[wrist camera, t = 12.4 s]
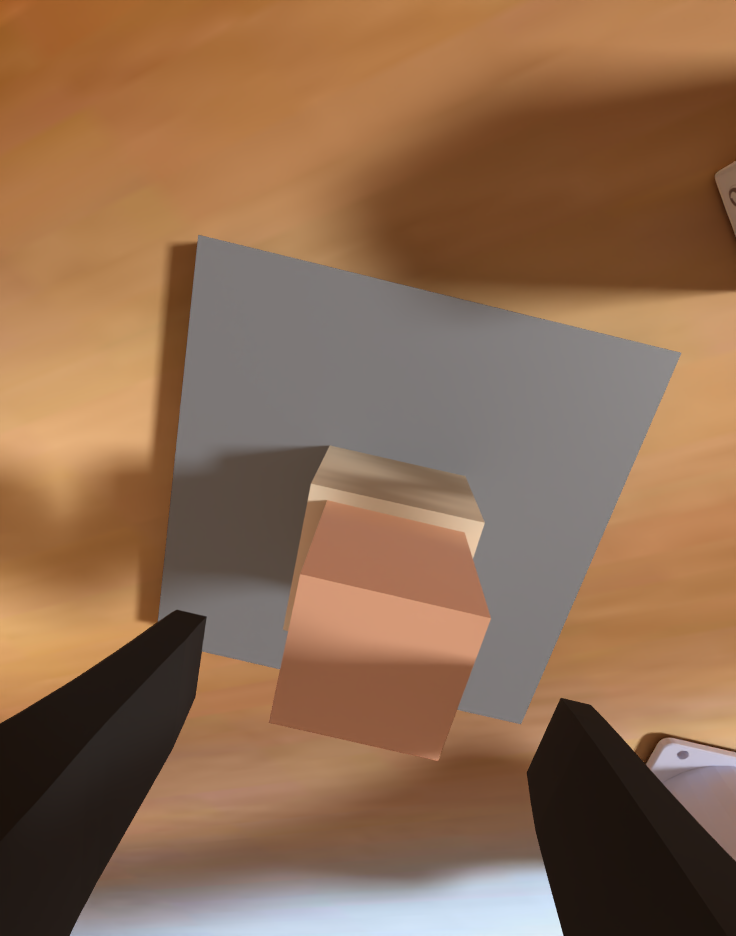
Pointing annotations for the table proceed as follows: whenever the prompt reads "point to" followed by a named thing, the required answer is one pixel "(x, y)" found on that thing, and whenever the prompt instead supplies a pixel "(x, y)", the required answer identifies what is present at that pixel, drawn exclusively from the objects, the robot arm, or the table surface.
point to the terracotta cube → (381, 632)
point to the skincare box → (728, 191)
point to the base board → (394, 444)
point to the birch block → (387, 498)
